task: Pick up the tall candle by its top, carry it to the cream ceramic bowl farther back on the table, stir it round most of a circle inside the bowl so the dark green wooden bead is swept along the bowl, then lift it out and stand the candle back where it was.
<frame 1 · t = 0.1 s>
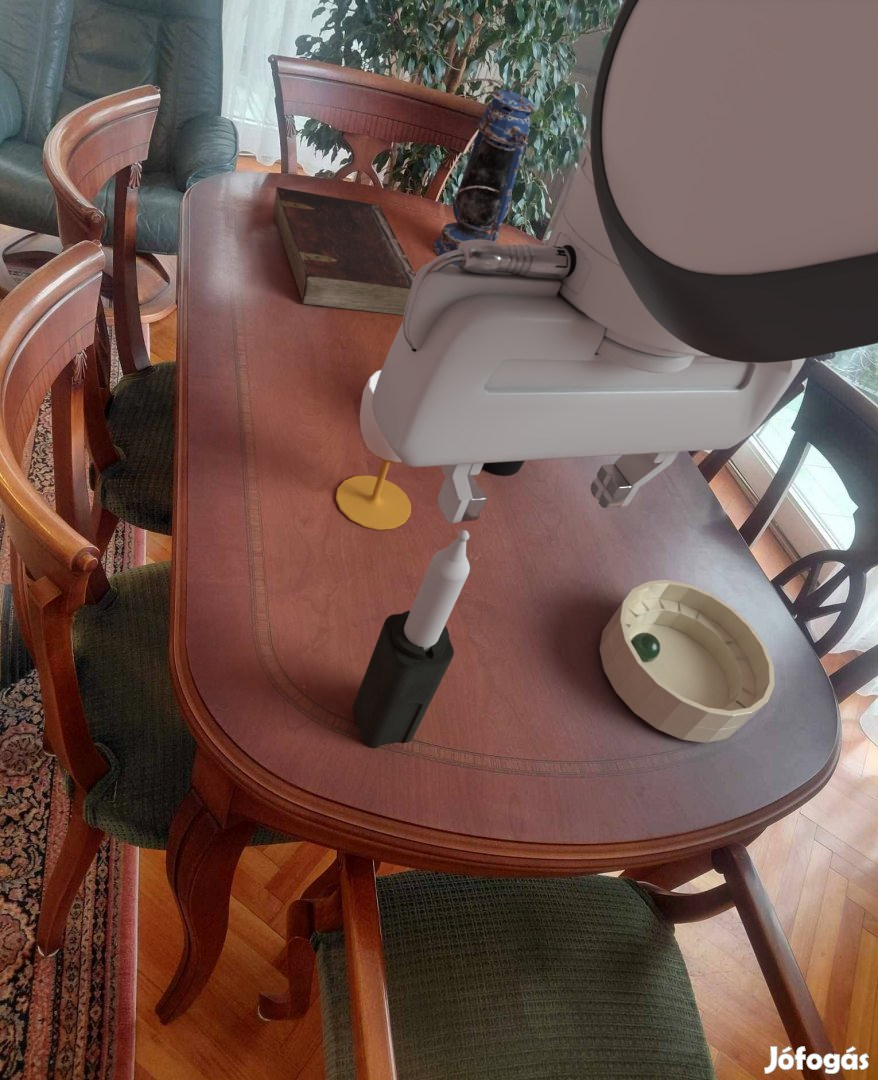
hand: (535, 506, 40), 36 cm above the table, tool pointing down, fingers open, 8 cm apart
cup 2: (373, 503, 92), on the table
bead: (644, 647, 84), point 2 cm above the table, touching bowl
hardback book: (342, 265, 131), on the table
cup: (494, 458, 105), on the table
lantern: (464, 256, 146), on the table
bowl: (670, 675, 85), on the table
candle: (382, 722, 71), on the table
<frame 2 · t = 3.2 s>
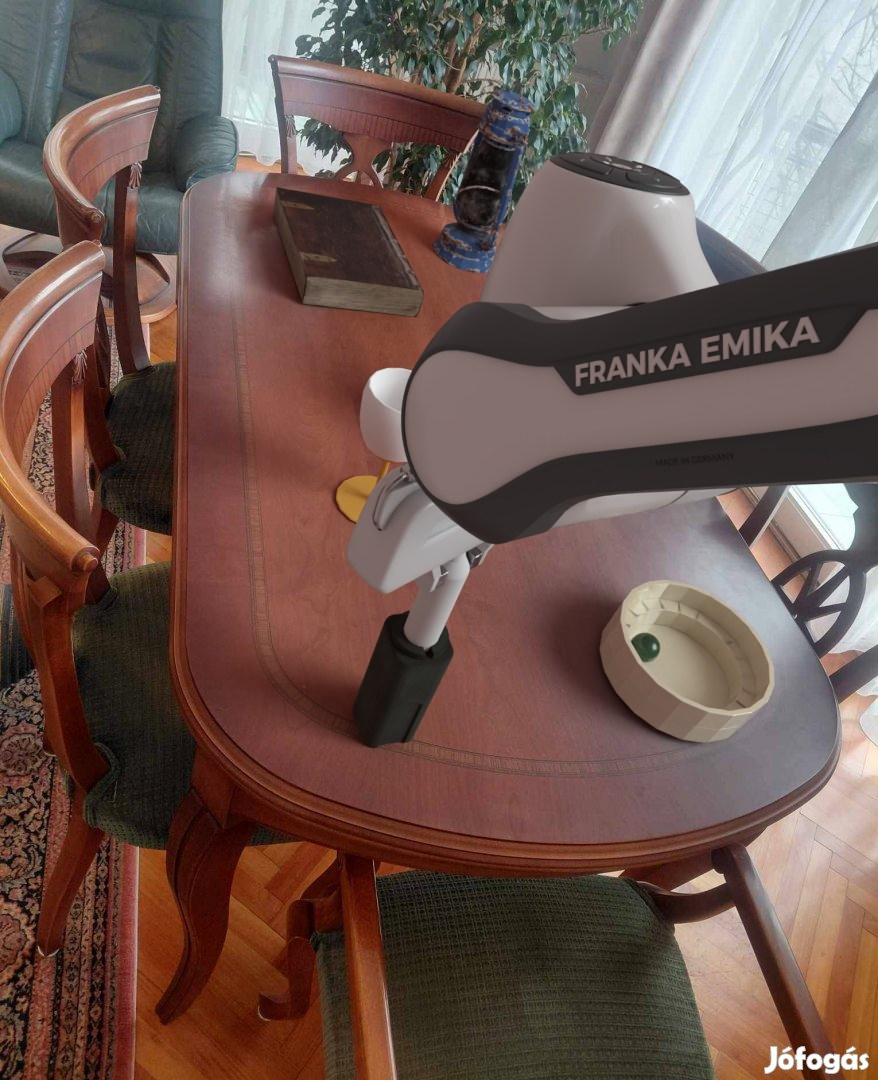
hand: (447, 572, 57), 21 cm above the table, tool pointing down, fingers closed on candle, 3 cm apart
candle: (382, 721, 71), on the table, touching gripper
everything else where it was.
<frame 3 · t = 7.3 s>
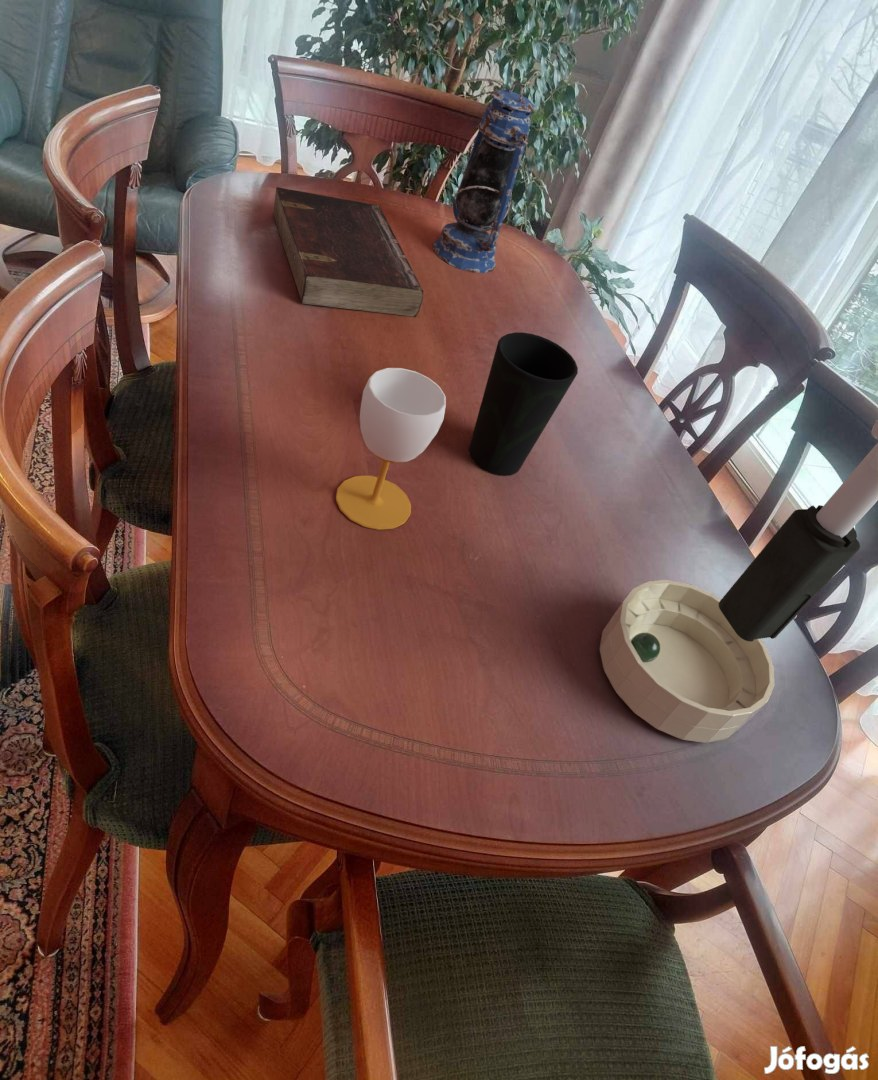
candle: (746, 620, 77), point 12 cm above the table, touching gripper
everything else where it was.
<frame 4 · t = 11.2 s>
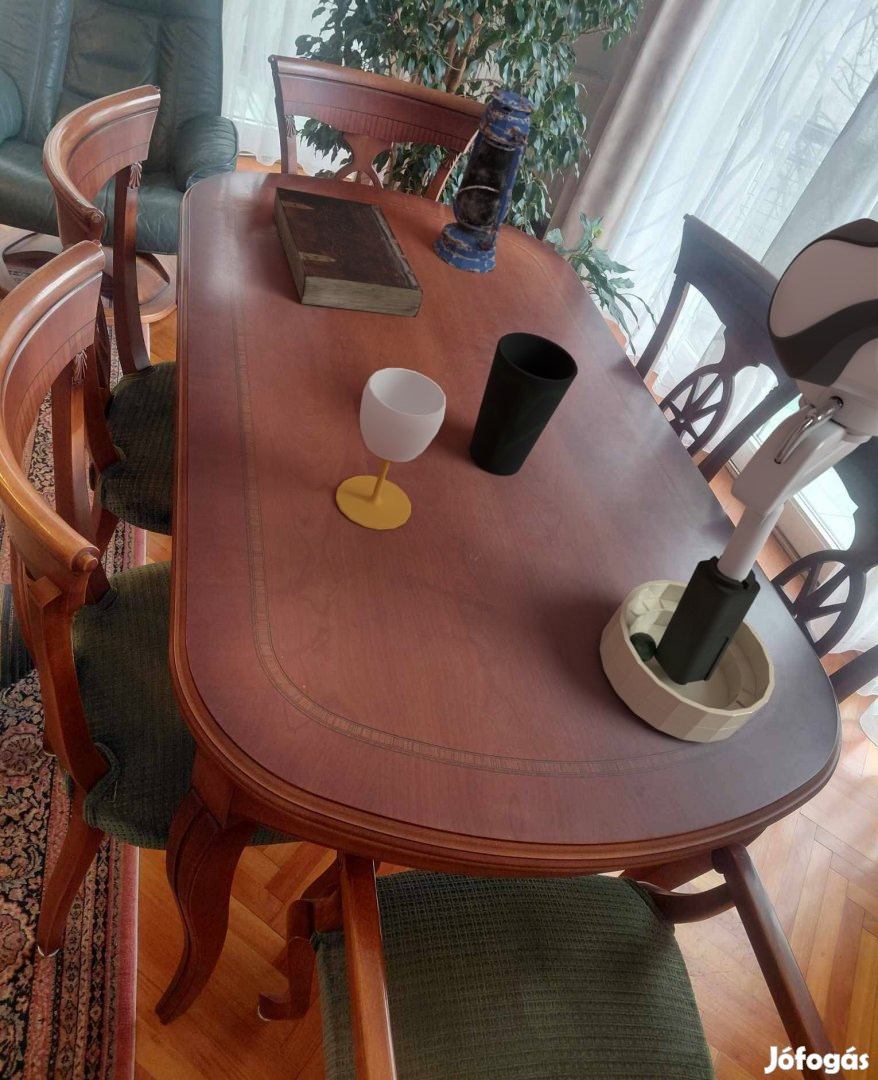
hand: (762, 510, 71), 23 cm above the table, tool pointing down, fingers closed on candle, 3 cm apart
bead: (640, 647, 84), point 2 cm above the table, tilted 17°, touching bowl, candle
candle: (681, 666, 84), point 2 cm above the table, touching bead, gripper
everything else where it was.
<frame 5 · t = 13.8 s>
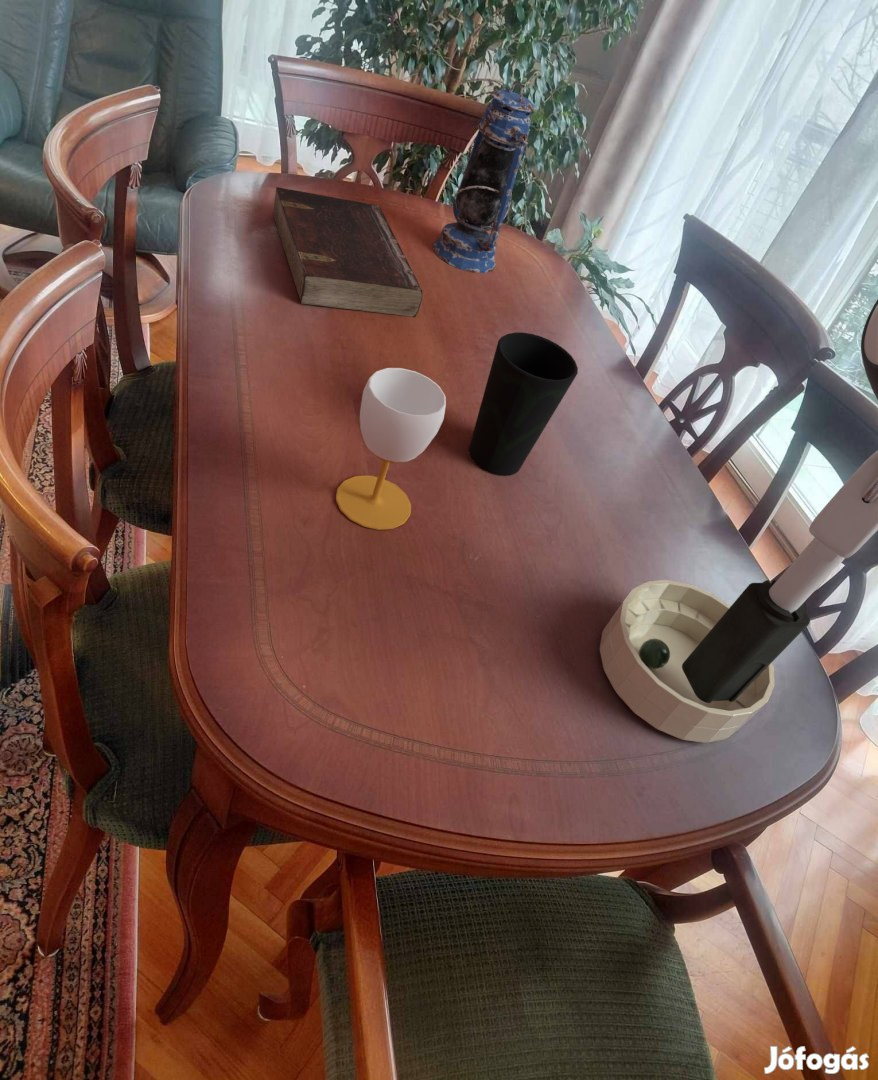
hand: (833, 545, 67), 25 cm above the table, tool pointing down, fingers closed on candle, 3 cm apart
bead: (654, 653, 84), point 2 cm above the table, tilted 42°, touching bowl
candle: (707, 682, 81), point 4 cm above the table, touching gripper
everything else where it was.
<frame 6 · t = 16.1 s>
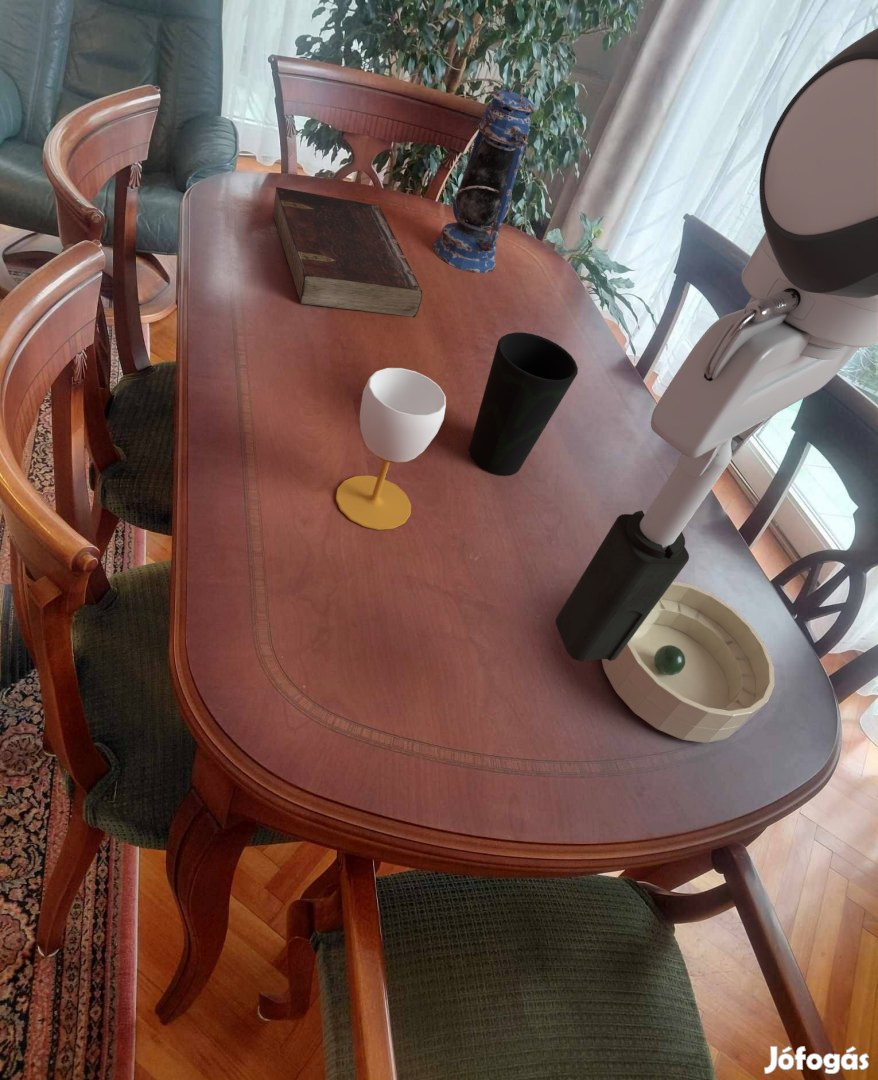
hand: (706, 461, 55), 33 cm above the table, tool pointing down, fingers closed on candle, 3 cm apart
bead: (669, 660, 84), point 2 cm above the table, tilted 104°, touching bowl
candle: (585, 638, 69), point 12 cm above the table, touching gripper
everything else where it was.
when the fingers open (21 cm above the table, at t = 20.3 s): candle stays where it is, on the table.
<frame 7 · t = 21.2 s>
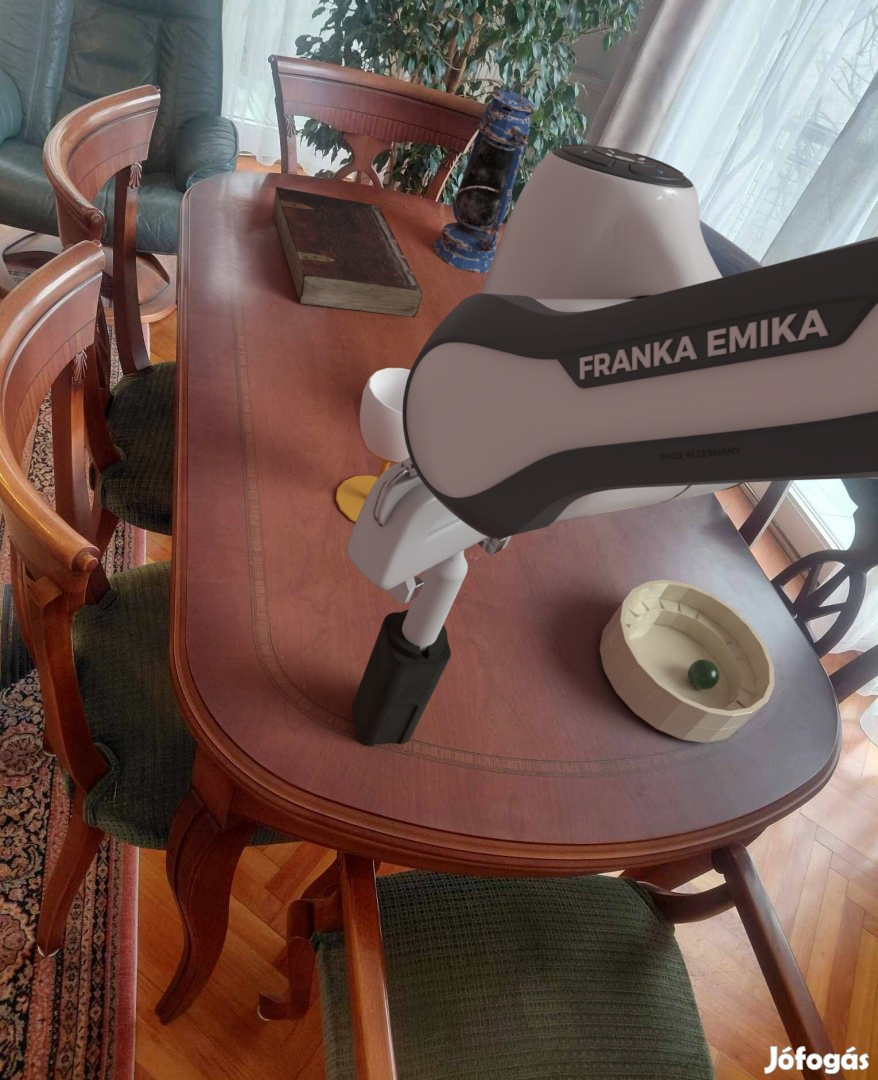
hand: (448, 569, 57), 21 cm above the table, tool pointing down, fingers open, 8 cm apart
bead: (703, 674, 84), point 2 cm above the table, tilted 115°, touching bowl
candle: (381, 721, 71), on the table
everything else where it was.
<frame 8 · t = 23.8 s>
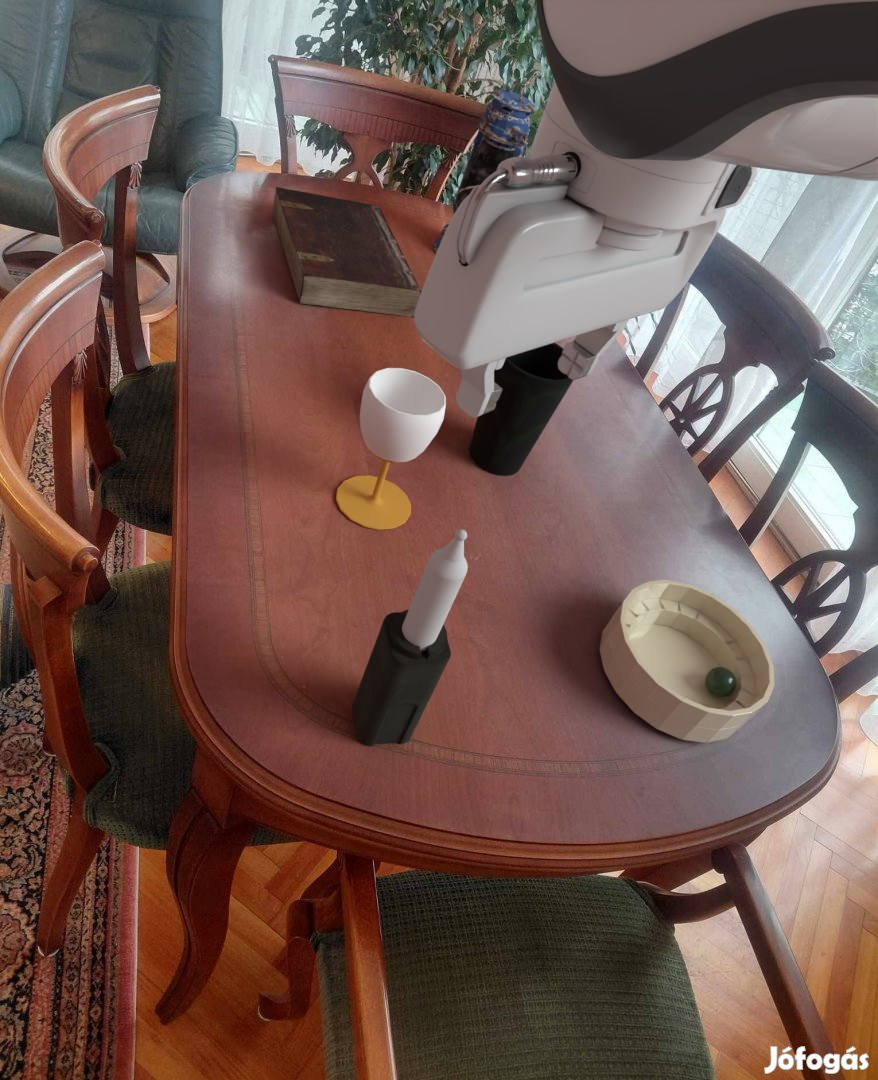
hand: (525, 389, 46), 37 cm above the table, tool pointing down, fingers open, 8 cm apart
bead: (720, 681, 84), point 2 cm above the table, tilted 45°, touching bowl
everything else where it was.
at the end: bead moved 9.0 cm from its start; bead inside the target area in the bowl (4.7 cm from its centre), point 2.4 cm above the bowl's base; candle tilted 0° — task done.
